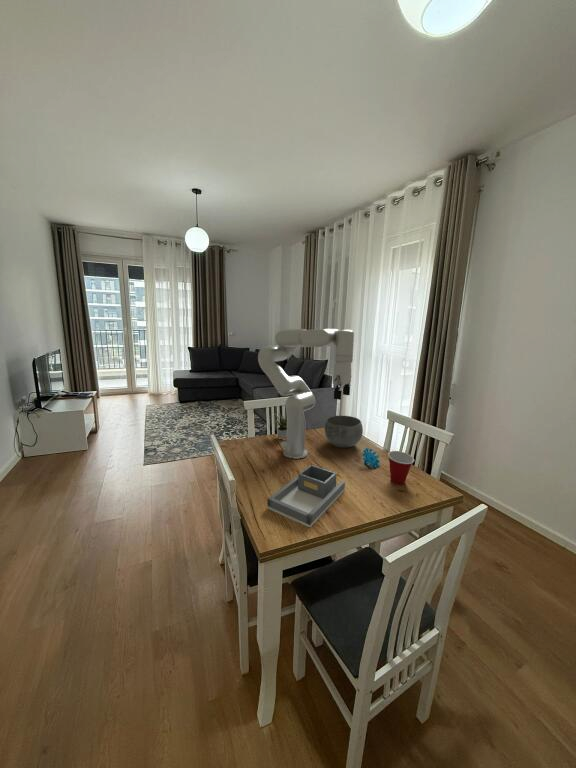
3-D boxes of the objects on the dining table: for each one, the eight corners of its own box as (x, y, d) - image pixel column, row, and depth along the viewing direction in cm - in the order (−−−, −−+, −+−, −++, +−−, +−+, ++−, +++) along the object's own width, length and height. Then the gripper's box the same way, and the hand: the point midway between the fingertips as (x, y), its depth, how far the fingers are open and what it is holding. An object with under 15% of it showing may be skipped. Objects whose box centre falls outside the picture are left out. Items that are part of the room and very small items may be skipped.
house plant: (264, 440, 174) (264, 413, 170) (274, 432, 186) (274, 406, 183) (287, 445, 169) (288, 416, 165) (296, 436, 181) (297, 410, 178)
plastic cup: (405, 491, 126) (408, 464, 123) (380, 481, 133) (383, 455, 131) (415, 481, 133) (418, 456, 131) (392, 472, 141) (394, 448, 138)
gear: (369, 468, 141) (360, 448, 146) (361, 472, 145) (353, 453, 150) (385, 465, 147) (376, 446, 152) (377, 470, 151) (369, 451, 156)
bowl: (342, 435, 184) (344, 412, 181) (369, 447, 167) (371, 421, 164) (316, 442, 172) (317, 417, 169) (341, 456, 156) (343, 428, 153)
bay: (267, 508, 112) (267, 498, 111) (306, 477, 135) (307, 468, 134) (309, 527, 102) (310, 517, 101) (344, 490, 125) (345, 481, 124)
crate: (297, 489, 123) (297, 474, 122) (310, 478, 131) (311, 464, 130) (323, 499, 116) (324, 484, 115) (335, 488, 125) (336, 473, 123)
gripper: (343, 356, 141) (341, 392, 145) (327, 360, 127) (325, 399, 131) (359, 357, 137) (356, 394, 141) (344, 361, 123) (342, 402, 127)
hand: (341, 397), depth 136 cm, fingers open, 9 cm apart
